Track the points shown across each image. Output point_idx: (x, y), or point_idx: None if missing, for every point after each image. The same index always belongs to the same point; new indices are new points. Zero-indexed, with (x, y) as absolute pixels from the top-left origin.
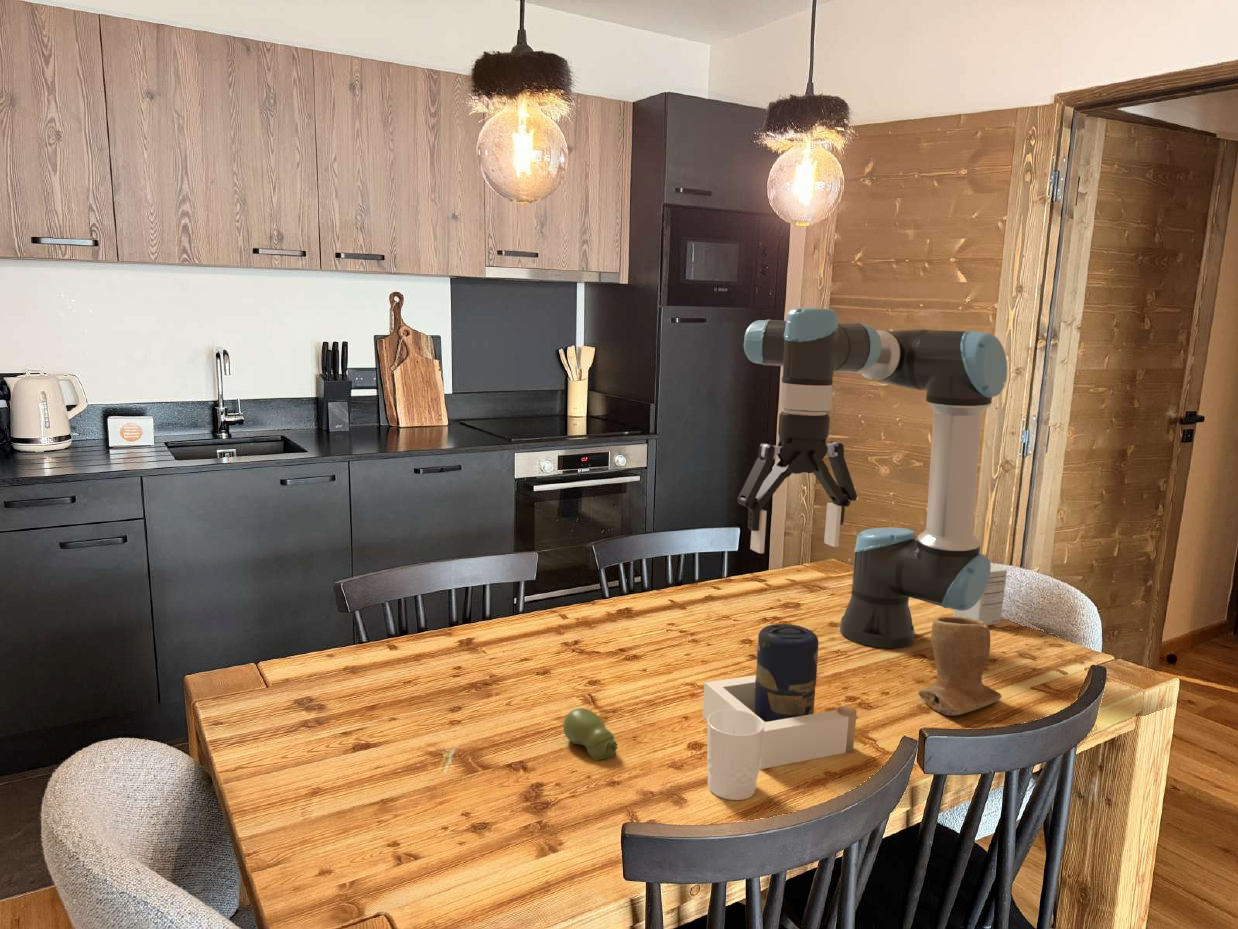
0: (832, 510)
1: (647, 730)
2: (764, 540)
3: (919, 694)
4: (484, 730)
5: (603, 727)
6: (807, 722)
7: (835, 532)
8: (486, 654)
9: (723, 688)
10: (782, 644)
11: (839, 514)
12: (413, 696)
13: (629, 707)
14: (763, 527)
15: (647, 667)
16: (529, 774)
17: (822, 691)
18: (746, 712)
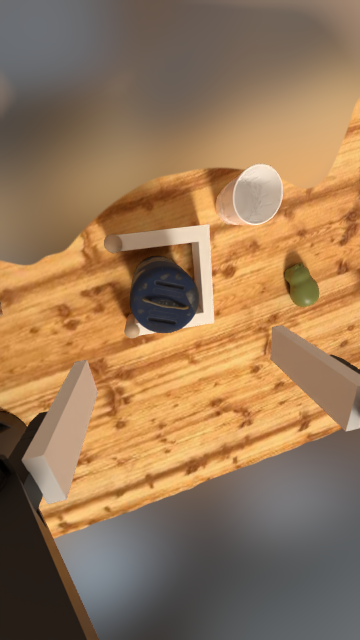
0: (62, 454)
1: (250, 299)
2: (291, 338)
3: (1, 312)
4: (340, 315)
5: (301, 280)
6: (161, 232)
7: (76, 383)
8: (300, 410)
9: (204, 309)
10: (186, 275)
11: (44, 429)
12: (357, 361)
13: (248, 332)
14: (320, 355)
15: (212, 388)
16: (341, 256)
17: (92, 340)
18: (238, 214)
